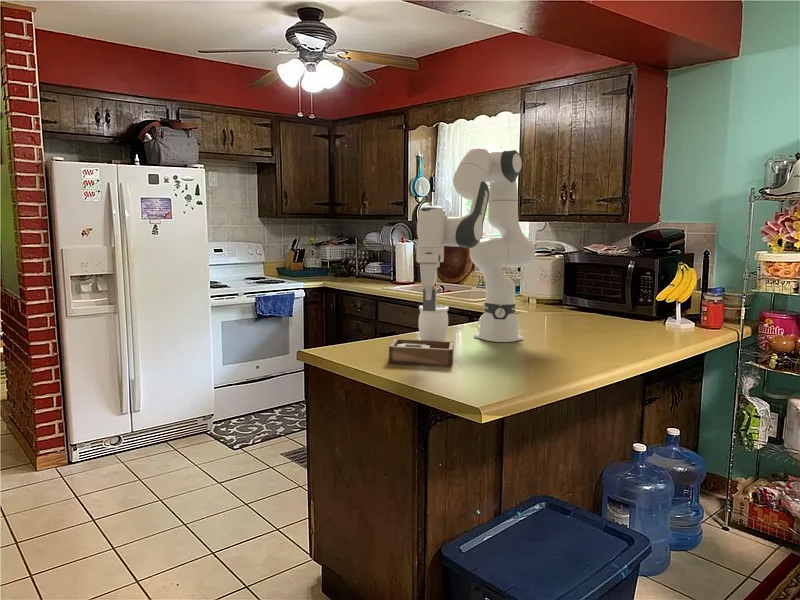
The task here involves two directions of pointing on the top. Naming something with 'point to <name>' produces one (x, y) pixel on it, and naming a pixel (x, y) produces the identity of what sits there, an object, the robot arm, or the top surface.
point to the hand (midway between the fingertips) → (429, 299)
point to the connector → (429, 301)
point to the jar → (433, 323)
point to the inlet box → (421, 352)
